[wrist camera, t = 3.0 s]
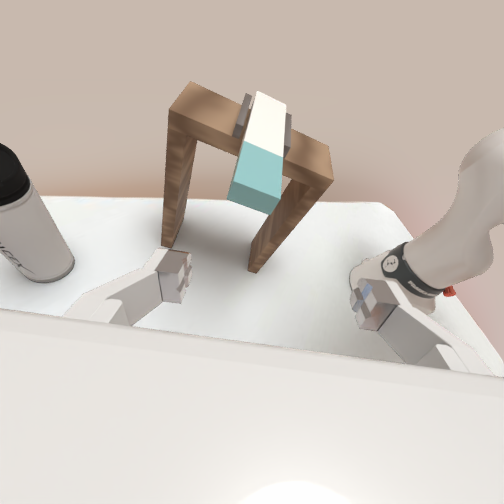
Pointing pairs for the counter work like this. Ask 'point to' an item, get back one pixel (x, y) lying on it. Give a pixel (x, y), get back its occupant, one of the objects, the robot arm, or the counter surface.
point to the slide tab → (260, 157)
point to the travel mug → (29, 226)
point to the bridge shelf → (229, 140)
